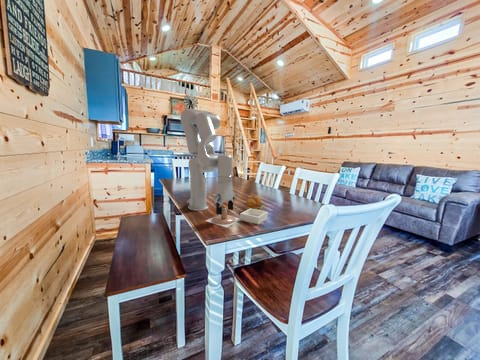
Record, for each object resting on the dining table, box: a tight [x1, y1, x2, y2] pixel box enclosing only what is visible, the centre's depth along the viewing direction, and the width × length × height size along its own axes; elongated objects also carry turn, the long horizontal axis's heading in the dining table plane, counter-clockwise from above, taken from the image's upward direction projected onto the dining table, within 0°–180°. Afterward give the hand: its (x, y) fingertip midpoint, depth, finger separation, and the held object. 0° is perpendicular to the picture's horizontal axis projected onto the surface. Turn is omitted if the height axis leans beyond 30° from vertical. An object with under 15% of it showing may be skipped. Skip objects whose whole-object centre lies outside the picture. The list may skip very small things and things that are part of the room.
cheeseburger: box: [245, 196, 264, 211], centre depth 127 cm, size 10×11×10 cm
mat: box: [205, 216, 241, 228], centre depth 110 cm, size 14×14×1 cm
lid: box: [212, 207, 235, 225], centre depth 110 cm, size 12×12×6 cm
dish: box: [239, 208, 269, 225], centre depth 113 cm, size 11×11×4 cm
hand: (225, 211), depth 109 cm, fingers open, 9 cm apart
